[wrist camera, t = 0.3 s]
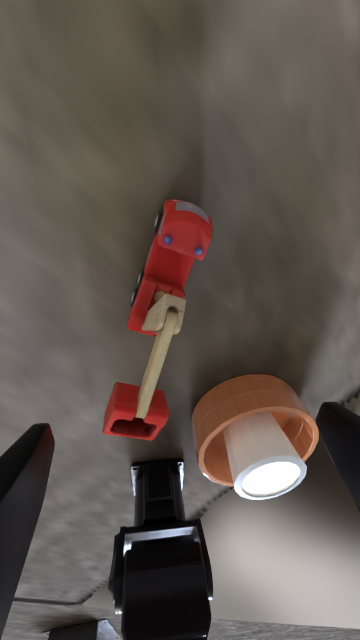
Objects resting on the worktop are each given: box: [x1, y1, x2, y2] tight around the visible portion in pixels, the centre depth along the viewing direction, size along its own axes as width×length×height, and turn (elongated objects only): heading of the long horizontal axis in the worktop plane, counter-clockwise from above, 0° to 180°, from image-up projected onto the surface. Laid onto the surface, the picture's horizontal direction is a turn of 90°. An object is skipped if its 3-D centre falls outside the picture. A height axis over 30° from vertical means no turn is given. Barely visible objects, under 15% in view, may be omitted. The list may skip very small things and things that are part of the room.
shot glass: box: [223, 412, 307, 500], centre depth 27 cm, size 7×7×7 cm
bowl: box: [191, 374, 319, 486], centre depth 28 cm, size 12×12×4 cm
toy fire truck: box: [103, 199, 213, 440], centre depth 17 cm, size 3×14×10 cm, turn 159°
